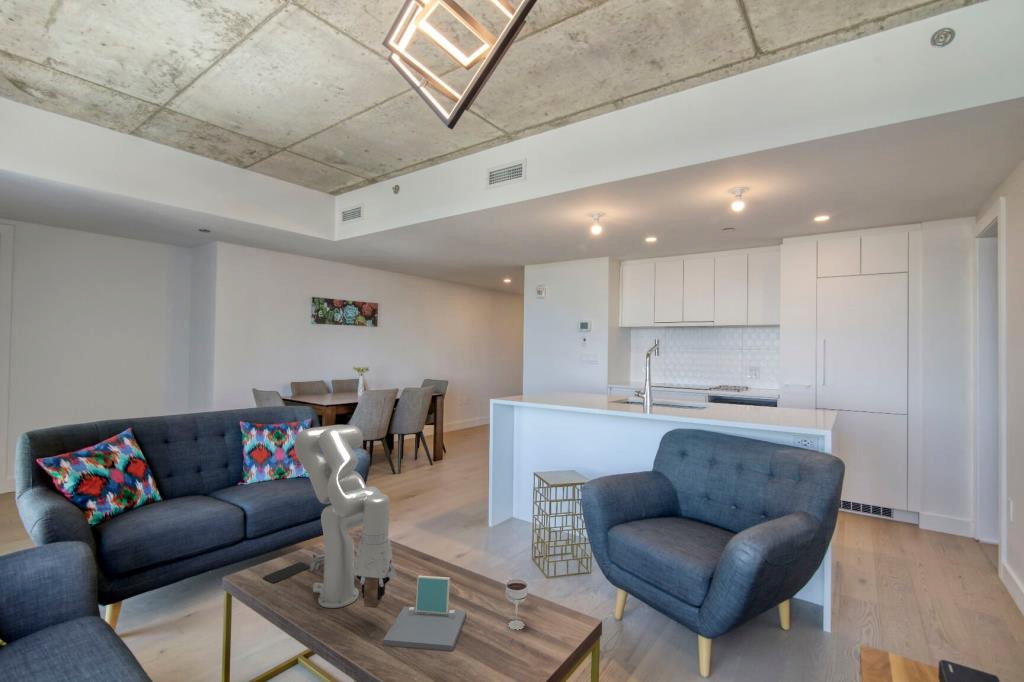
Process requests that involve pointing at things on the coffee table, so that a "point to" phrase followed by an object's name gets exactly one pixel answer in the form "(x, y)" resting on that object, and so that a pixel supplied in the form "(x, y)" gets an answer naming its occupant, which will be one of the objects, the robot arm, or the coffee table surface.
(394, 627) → the board
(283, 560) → the coffee table surface
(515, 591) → the wineglass
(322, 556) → the caliper
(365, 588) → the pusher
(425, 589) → the tile
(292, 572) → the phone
